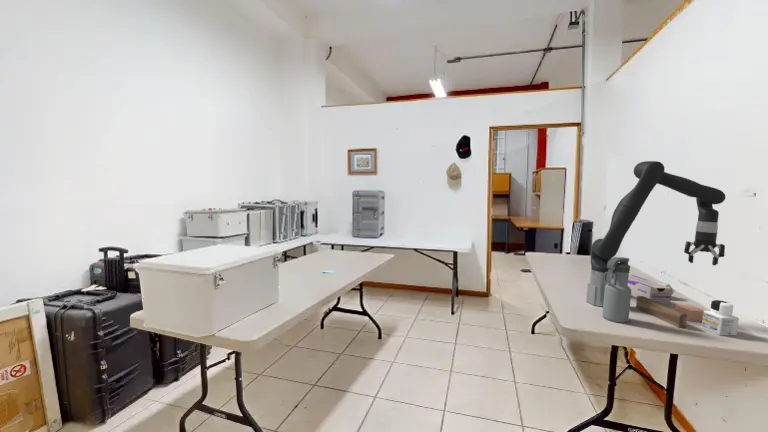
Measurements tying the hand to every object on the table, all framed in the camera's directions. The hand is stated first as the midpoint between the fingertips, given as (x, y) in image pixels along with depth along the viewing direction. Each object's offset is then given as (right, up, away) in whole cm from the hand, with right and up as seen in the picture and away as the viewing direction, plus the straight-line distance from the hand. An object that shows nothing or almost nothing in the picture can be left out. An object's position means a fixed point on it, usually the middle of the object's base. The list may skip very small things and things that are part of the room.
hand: (702, 263), depth 166 cm
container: (-13, -26, -21) cm, 36 cm away
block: (-12, -25, -6) cm, 28 cm away
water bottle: (-51, -23, -12) cm, 57 cm away
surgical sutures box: (-18, -22, +17) cm, 33 cm away
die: (0, -22, +24) cm, 33 cm away
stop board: (-27, -24, -7) cm, 36 cm away
